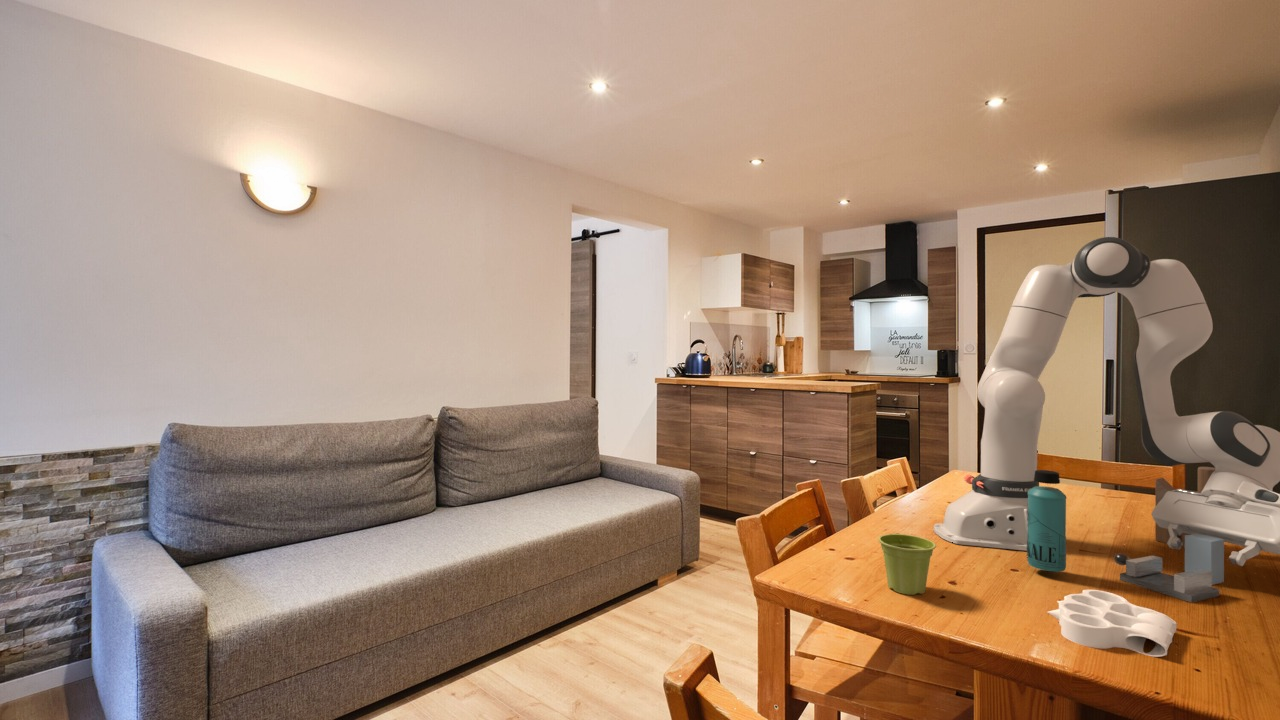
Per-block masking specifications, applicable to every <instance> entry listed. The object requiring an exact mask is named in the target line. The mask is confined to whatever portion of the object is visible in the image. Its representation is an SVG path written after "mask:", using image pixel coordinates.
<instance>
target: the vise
mask: <svg viewBox="0 0 1280 720" xmlns="http://www.w3.org/2000/svg"><path fill="white" fill-rule="evenodd" d="M1119 580H1120V581H1122V580H1123V582H1125V581H1126V583H1128V582H1129V583H1128V584H1131V583H1132V584H1131V585H1134V584H1136V585H1135V586H1138V587H1141V588H1144V589H1148V590H1150V591H1154V592H1157V593H1160V594H1163V595H1166V596H1170V597H1171V598H1176V599H1178V600H1179V599H1180V600H1182V601H1185V602H1187V603H1196V602H1200V601H1204V600H1209V599H1212V598H1216V597H1220V589H1219V588H1216V587H1213V585H1212V571H1209V570H1205V569H1197V570H1192V571H1187V572H1185V571H1184V572H1178V573H1175V574H1168V573H1165V572H1163V571H1162V572H1158V573H1153V574H1148V575H1143V576H1138V577H1133V576H1130V575H1127V574H1126V571H1125V572H1119Z"/></svg>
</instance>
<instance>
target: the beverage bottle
mask: <svg viewBox="0 0 1280 720" xmlns="http://www.w3.org/2000/svg"><path fill="white" fill-rule="evenodd" d="M1034 481H1036V482H1039V484H1049V485H1051V484H1052V485H1058V484H1061V479H1060V473H1059V472H1057V471H1054V470H1047V469H1046V470H1045V469H1037V470H1036V471H1035V476H1034ZM1027 508H1028V511H1027V517H1028V525H1027V526H1028V532H1027V533H1028V536H1027V537H1028V539H1027V540H1028V541H1027V551H1026V559H1027V564H1028V565H1029V566H1030V567H1032V568H1035V569H1038V570H1041V571H1046V572H1064V571H1065V570H1066V568H1067V536H1066V532H1067V527H1066V525H1067V520H1066V519H1067V495H1066V494H1065V493H1064V492H1063V491H1062V490H1061V489H1059V488H1055V487H1051V486H1040V485H1039V486H1037V487H1033V488H1032V489H1030V490H1029V491H1028V507H1027Z"/></svg>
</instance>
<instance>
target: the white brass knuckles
mask: <svg viewBox="0 0 1280 720" xmlns="http://www.w3.org/2000/svg"><path fill="white" fill-rule="evenodd" d="M1056 603H1058V609H1053V610H1049V611H1047V613H1048V614H1050V615H1051V616H1053V617H1054V618H1056V619H1057V620H1058V623H1059V626H1060V628H1061V629H1060V635H1062V637H1064V638H1065V639H1067V640H1068V641H1071V642H1073V643H1075V644H1078V645H1080V646H1084V647H1088V648H1093V649H1103V650H1105V649H1106V650H1107V649H1112V648H1123V649H1127V650H1128V651H1129V650H1130V651H1133V652H1136V653H1139V654H1141V655H1145V656H1150V657H1153V658H1157V657H1158V658H1159V657H1164V656H1167V655H1168V649H1169V647H1170V645H1171V643H1173V637H1174V634H1175V632H1177V626H1178V625H1177V622H1176V621H1175V620H1174V619H1172V618H1171V617H1170V616H1168V615H1166V614H1165V613H1162V612H1160V611H1157V610H1154V609H1151V608H1149V607H1148V608H1147V607H1144V606H1138V605H1136V604H1134V603H1131V602H1129V601H1128V600H1127V599H1126V598H1124V597H1123V596H1122V595H1118V594H1116V593H1112V592H1108V591H1105V590H1099V589H1098V590H1097V589H1082V592H1081V593H1071V594H1068V595H1065V596H1064V597H1063V600H1057V601H1056ZM1147 639H1149V640H1151V641H1153V642H1155V645H1154V647H1153V649H1151V651H1150V652H1145V651H1144V645H1145V643H1146V641H1147Z"/></svg>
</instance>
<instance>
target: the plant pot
mask: <svg viewBox="0 0 1280 720" xmlns="http://www.w3.org/2000/svg"><path fill="white" fill-rule="evenodd" d="M878 542H879V543H880V545H881V549H882V551H883V559H884V565H885V571H886V572H885V573H886V581H887V586H888V588H889V589H893V590H894V591H895V592H896V593H899V594H903V595H907V596H908V595H909V596H914V595H917V594H920V595H923V594H924V593H925V592H926V588H927V581H928V576H929V574H928V573H929V568H930V562H931V557H932V556H933V551H934V550H935V549H936V544H935V542H934V541H932V540H930V539H927V538H924V537H921V536H916V535H912V534H902V533H888V534H882V535H880V536H879V537H878Z"/></svg>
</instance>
